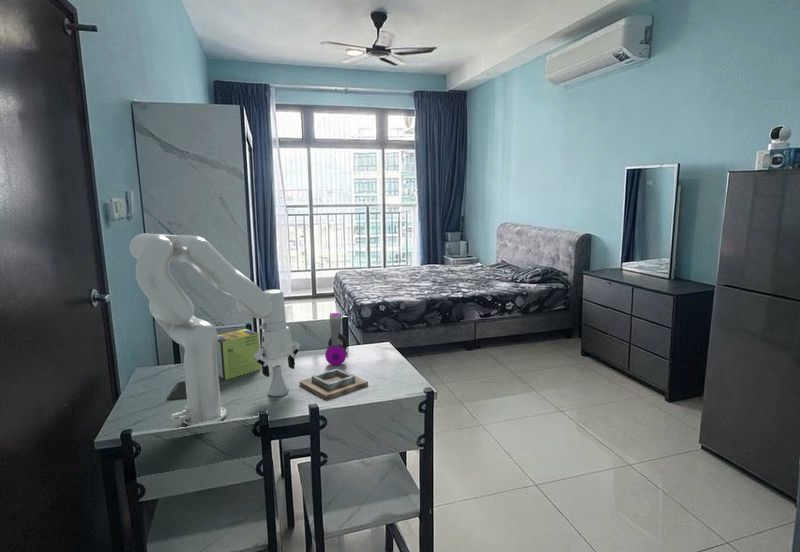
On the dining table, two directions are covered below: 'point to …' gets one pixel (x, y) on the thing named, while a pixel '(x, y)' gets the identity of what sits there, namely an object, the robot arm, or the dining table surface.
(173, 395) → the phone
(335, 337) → the headphones
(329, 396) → the holder
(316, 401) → the dining table surface
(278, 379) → the flask
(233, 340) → the protein box
